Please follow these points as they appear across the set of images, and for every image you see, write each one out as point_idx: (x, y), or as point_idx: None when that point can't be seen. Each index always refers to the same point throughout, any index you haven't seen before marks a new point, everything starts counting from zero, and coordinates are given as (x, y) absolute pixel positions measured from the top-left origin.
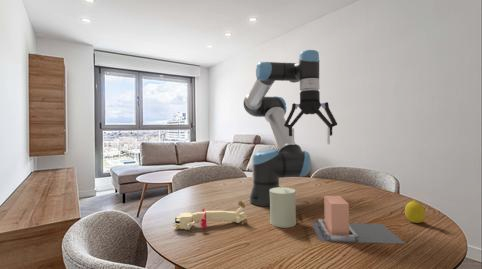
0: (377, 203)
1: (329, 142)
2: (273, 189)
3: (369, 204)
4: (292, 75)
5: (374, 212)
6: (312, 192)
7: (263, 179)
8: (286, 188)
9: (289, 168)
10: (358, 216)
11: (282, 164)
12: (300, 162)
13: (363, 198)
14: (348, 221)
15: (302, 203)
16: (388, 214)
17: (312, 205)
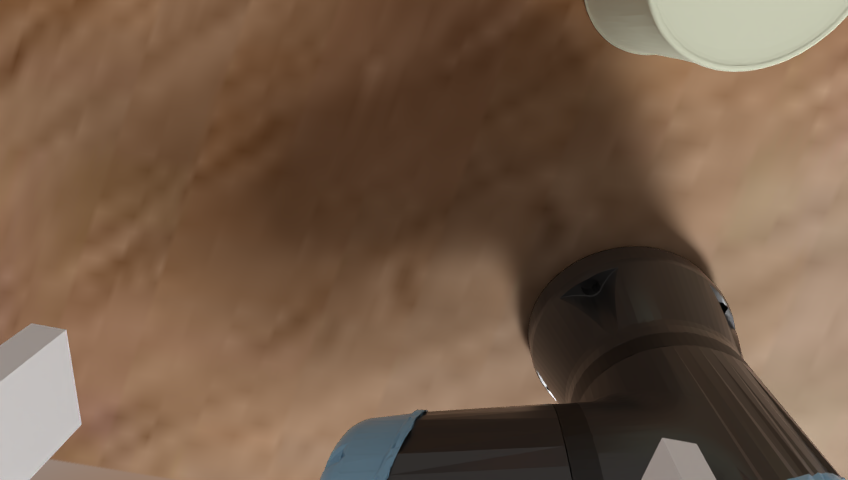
0: (41, 215)
1: (9, 343)
2: (823, 3)
3: (87, 205)
4: None
5: (100, 77)
6: (322, 430)
7: (732, 364)
8: (694, 25)
9: (527, 426)
10: (204, 25)
11: (601, 454)
12: (420, 473)
13: (89, 301)
14: None
15: (435, 271)
16: (37, 36)
17: (392, 232)
